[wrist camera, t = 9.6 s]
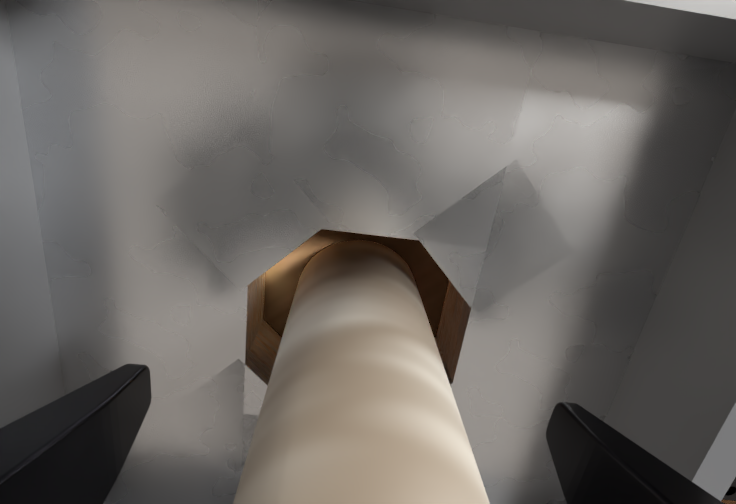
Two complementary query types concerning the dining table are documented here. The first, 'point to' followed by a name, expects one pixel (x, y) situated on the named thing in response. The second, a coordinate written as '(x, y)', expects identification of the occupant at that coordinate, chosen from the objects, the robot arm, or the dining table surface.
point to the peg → (359, 395)
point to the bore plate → (351, 204)
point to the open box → (663, 325)
